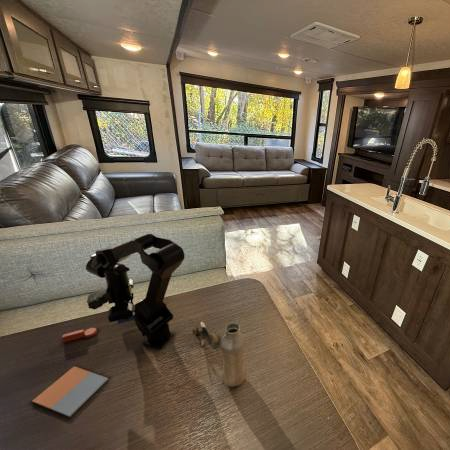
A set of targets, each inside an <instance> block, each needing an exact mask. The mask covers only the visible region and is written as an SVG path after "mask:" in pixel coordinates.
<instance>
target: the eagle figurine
mask: <svg viewBox="0 0 450 450" xmlns="http://www.w3.org/2000/svg"><path fill="white" fill-rule="evenodd" d="M200 327H201V329H200V330H199V327H198V326H197V325H196V326H195V328H196V329H192V332H189V333H188V332H187V335H188V336H195V337H196V338H200V347H203V345H204V344H205V340H206V342H207V343H208V344H209V345H212V347H213V348H217V347H219V346H220V342H221V337H220V336H219V334H217V333H216V331H213V330H210V329H207V327H206V324H205V323H204V322H203V321H201V322H200Z"/></svg>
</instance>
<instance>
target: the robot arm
mask: <svg viewBox="0 0 450 450" xmlns="http://www.w3.org/2000/svg"><path fill="white" fill-rule="evenodd" d="M151 248H155V249H157V250H155V251H153V252H150V253H147V252H145V251H146V250H148V249H151ZM137 253H138V255H139V257H140V260H141V264H142V265H145V266H146V267H147V268H148V269H149V270H150V271H151V272H152V273H151V275H150V278H149V279H150V280H149V283H148V287H147V290H146V294H145V298H143V299H141V300H140V301H138V302H136V303H135V305H134V292H133V290H132V289H134V287H135V284H134V279H131V278H130V277H129V276H128V272H130V270H131V268H129V267H128V266H126V265H125V264H124V263H120V262H122V261H125V260H126V259H128V258H129V257H130V256H131V255H133V254H137ZM89 257H90V259H89V260H88V261H87V263H86V264H85V270H86V272H88V273H89V274H92V275H94V276H96V277H99V278H100V279H105V282H106V286H105V287H102V288H99V289H97V290H96V291H93V292H91V293H90V294H89V295H87V300H86V304H87V306H88V309H91V310H98V309H99V308H101V307H103V305H106V304H107V303H108V304H109V305H110V304H114V306H111V307H110V308H109V309H108V312H107V313H108V314H107V319H108V322H109V323H113V322H118V320H121V319H125V320H126V319H128V318H129V317H132V316H133V313H134V320H133V321H134V323H135V325H136V327H137V329H138V331H139V332H140V333H141V335H142V337H146V338H147V339H145V341H143V344H144V345H146V346H149V347H151V348H155V349H158V350H161V349H162V348H163V347H164V346H165V345H166V344H167V343H168V342H169V341H170V340H171V339H172V338H173V337H174V335H175V333H174V332H172V331H170V326H169V323H170V321H172V320H173V319H174V314H173V313H172V312H171V310H170V309H169V308H168V306H167V304H166V302H165V301H164V300H165V296H166V294H167V290H168V287H169V284H170V281H171V278H172V275H173V273H174V272H175V271H176V270H177V269H179V267H180V266H181V265H182V264H183V262H184V260H185V257H186V256H185V251H184V248H183V247H182V246H180V245H179V244H177V243H175V241H172V240H171V239H168V238H162V237H158V236H156V235H154V234H153V233H152V232H151V233H144V234H142V235H139V236H136V237H133V238H132V240H129V241H126V242H116V243H114V244H110V245H108V246H106V247H103V248H101V249H97V250H96V251H95V252H94V254H92V255H90V256H89Z"/></svg>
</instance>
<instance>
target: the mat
mask: <svg viewBox="0 0 450 450" xmlns="http://www.w3.org/2000/svg"><path fill="white" fill-rule="evenodd" d="M107 381H109V378H108V377H105V376H103V375H100V374H98V373H95V372H91V371H89V370H85V369H84V368H80V367H78V366H75V365H74V366H72V367H71V368H70V369H69V370H68V371H67V372H65V373H64V374H63V375H62V376H60V377H59V378H58V379H57V380H56V381H54V382H53V383H52V384H51V385H49V386H48V387H47V388H46V389H44V390H43V391H42V392H41V393H40V394H38V396H36V397H35V398H34V399H32V402H31V403H33V404H36V405H39V406H41V407H44V408H46V409H49V410H50V411H53V412H56V413H58V414H61V415H64V416H66V417H68V418H71V417H72V416H73V415H74V414H75V413H76V412H77V411H78V410H79V409H80V408H81V407H82V406H83V405H84V404H86V402H87V401H88V400H89V399H90V398H91V397H92V396H93V395H95V393H96V392H98V391H99V390H100V388H101V387H103V386H104V385H105V383H106V382H107Z"/></svg>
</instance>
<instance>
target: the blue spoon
mask: <svg viewBox="0 0 450 450" xmlns="http://www.w3.org/2000/svg"><path fill="white" fill-rule="evenodd" d="M130 321H134V312H133V316H132V317H129V318H128V319H126V320H125V319H121V320H118V321H117V324H118V325H120V324H123V323H128V322H130Z"/></svg>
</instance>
